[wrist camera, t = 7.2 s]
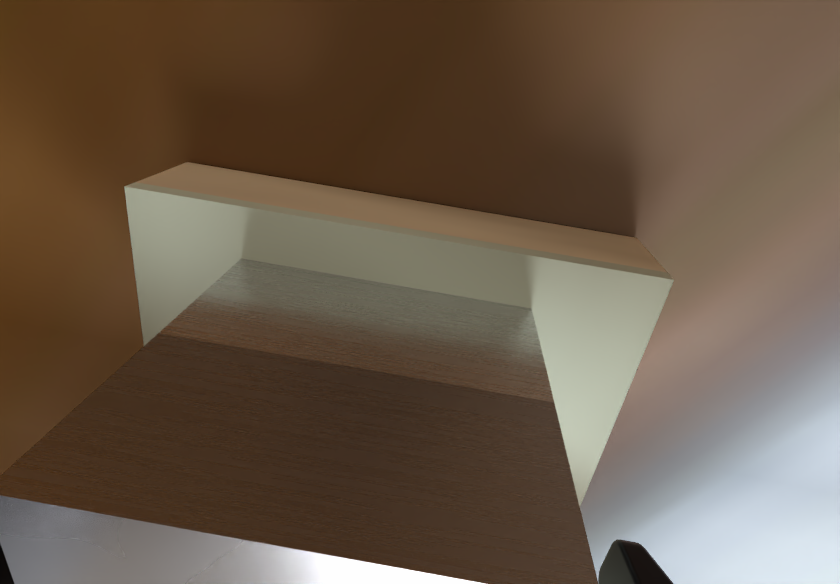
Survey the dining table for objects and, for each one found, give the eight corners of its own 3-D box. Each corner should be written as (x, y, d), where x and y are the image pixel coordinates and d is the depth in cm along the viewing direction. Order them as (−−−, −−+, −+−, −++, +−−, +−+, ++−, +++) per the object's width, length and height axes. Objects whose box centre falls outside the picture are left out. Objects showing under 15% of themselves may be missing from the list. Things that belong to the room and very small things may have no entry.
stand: (526, 541, 14) (534, 615, 12) (207, 484, 14) (168, 548, 12) (635, 237, 10) (674, 280, 8) (187, 162, 10) (123, 186, 8)
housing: (457, 571, 11) (449, 905, 7) (245, 533, 12) (103, 839, 7) (532, 308, 8) (604, 605, 4) (241, 257, 8) (-18, 492, 4)
